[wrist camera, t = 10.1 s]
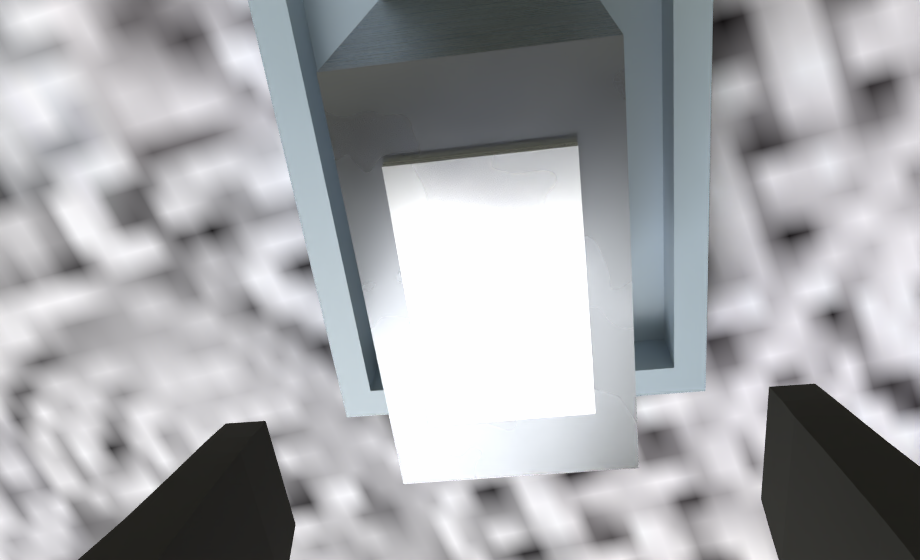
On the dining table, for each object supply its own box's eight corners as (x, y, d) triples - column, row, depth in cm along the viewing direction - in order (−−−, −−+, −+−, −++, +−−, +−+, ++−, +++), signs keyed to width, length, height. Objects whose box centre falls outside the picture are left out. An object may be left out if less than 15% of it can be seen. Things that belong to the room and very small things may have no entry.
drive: (580, -28, 18) (625, 37, 11) (598, 290, 21) (640, 475, 15) (380, -2, 18) (313, 75, 12) (431, 305, 22) (402, 491, 15)
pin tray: (694, -239, 16) (740, -261, 13) (689, 379, 23) (718, 460, 20) (237, -170, 17) (179, -176, 14) (364, 404, 24) (344, 484, 21)
